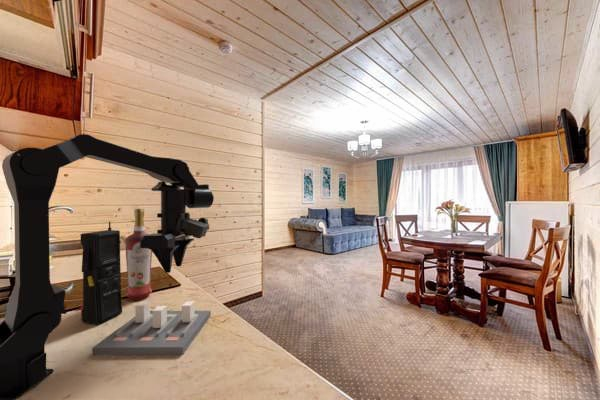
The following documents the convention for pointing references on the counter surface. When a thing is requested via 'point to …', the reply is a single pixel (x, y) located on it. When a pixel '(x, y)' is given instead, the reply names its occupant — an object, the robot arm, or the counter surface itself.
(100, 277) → the portable radio
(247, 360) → the counter surface
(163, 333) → the panel
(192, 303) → the block
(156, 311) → the breaker middle
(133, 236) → the liquor
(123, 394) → the counter surface
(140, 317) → the block
